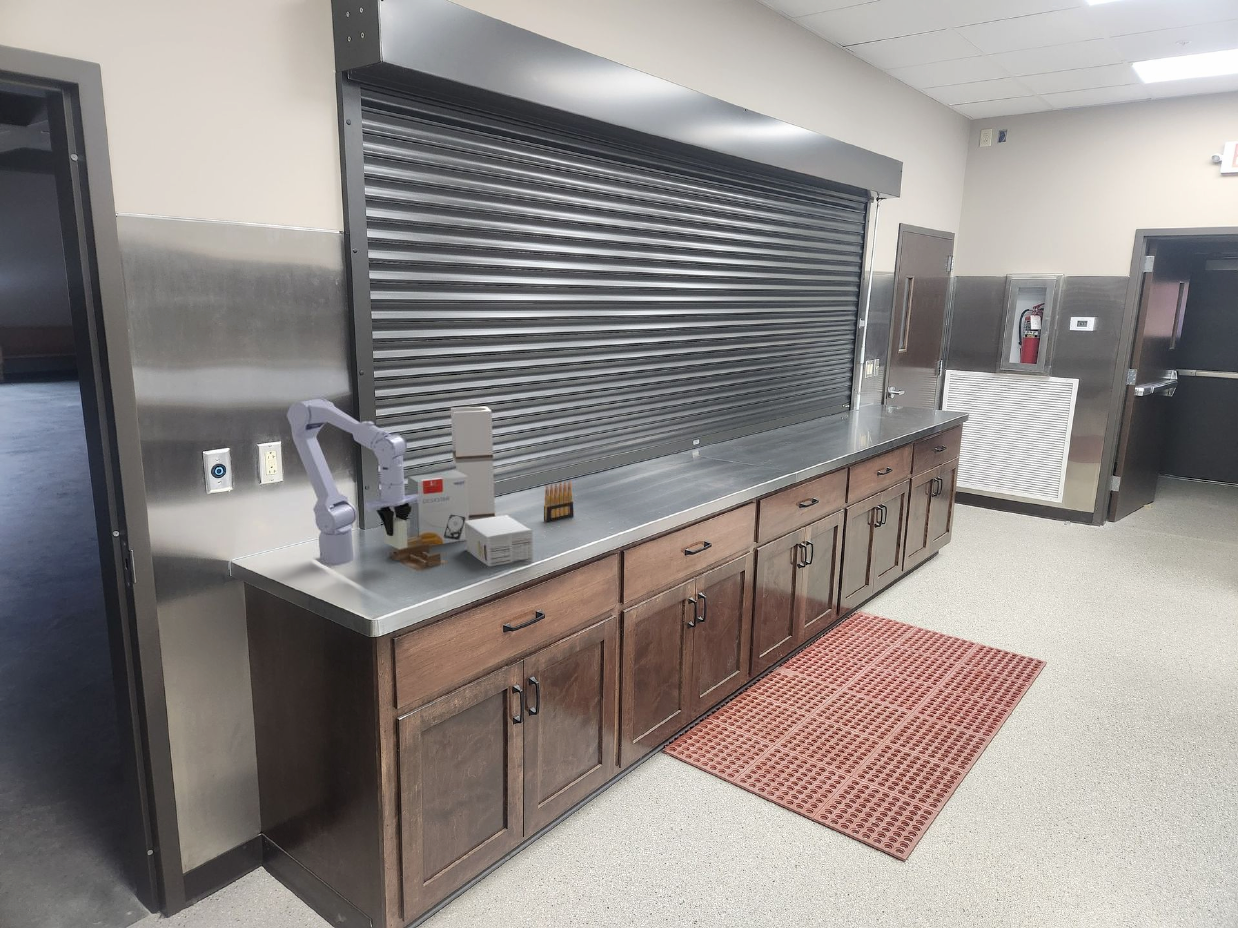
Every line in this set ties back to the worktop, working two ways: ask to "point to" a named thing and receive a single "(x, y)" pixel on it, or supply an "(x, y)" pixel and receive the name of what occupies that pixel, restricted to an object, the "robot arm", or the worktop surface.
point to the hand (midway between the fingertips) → (395, 533)
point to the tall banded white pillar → (475, 457)
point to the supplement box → (498, 540)
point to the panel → (397, 534)
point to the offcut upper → (413, 542)
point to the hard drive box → (439, 507)
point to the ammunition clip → (558, 503)
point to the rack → (418, 557)
